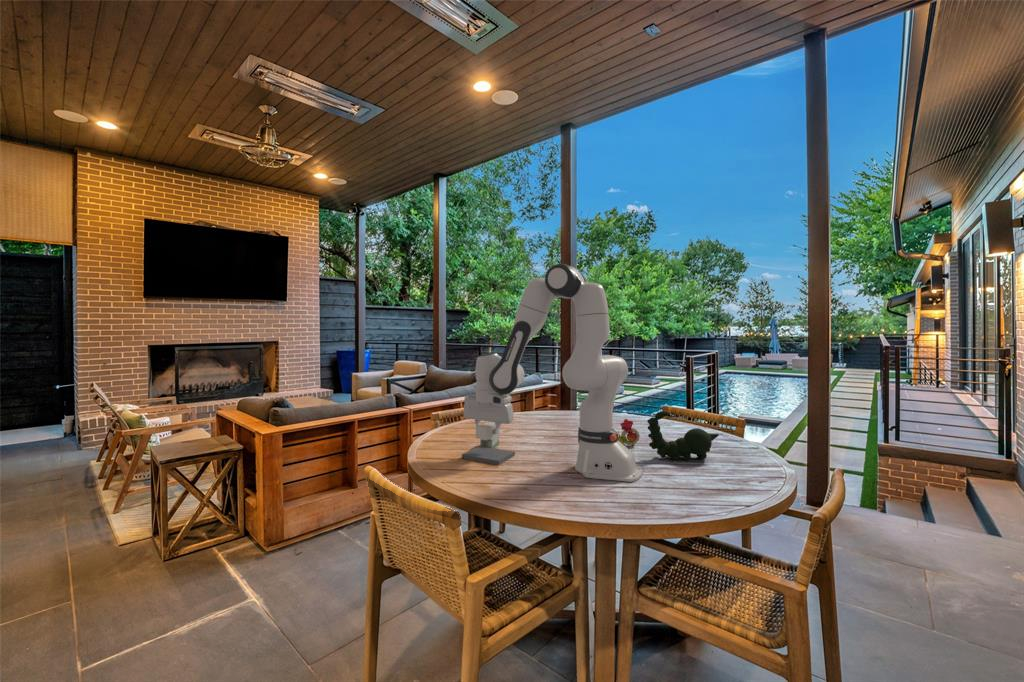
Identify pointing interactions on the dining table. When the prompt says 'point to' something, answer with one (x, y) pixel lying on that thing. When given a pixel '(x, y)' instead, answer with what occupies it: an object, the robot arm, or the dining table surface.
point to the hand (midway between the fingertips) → (487, 432)
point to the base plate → (488, 455)
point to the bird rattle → (631, 436)
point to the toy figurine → (679, 441)
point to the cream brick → (486, 431)
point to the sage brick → (490, 442)
